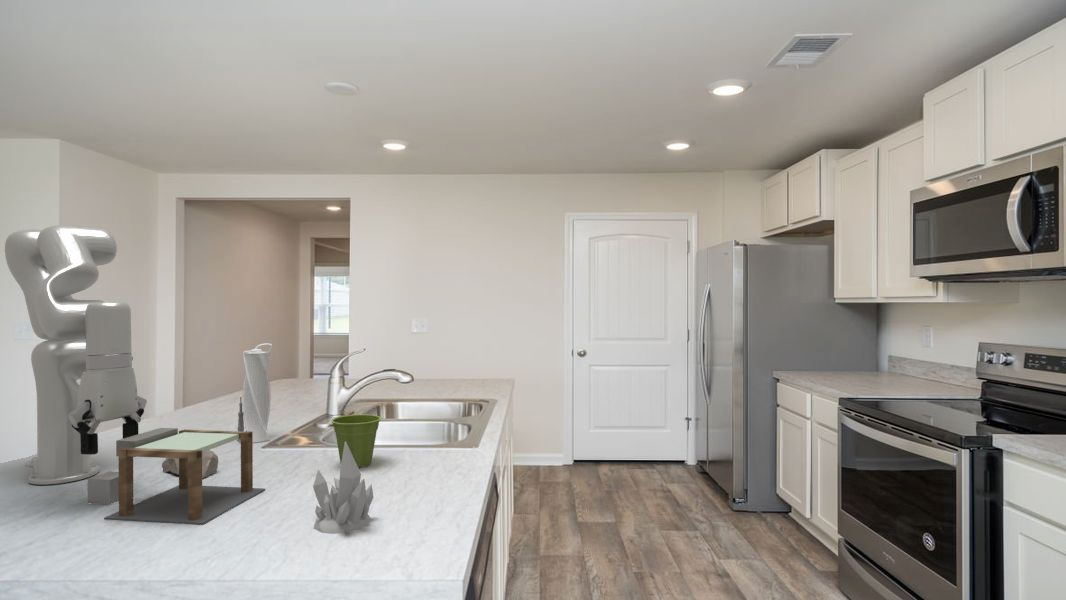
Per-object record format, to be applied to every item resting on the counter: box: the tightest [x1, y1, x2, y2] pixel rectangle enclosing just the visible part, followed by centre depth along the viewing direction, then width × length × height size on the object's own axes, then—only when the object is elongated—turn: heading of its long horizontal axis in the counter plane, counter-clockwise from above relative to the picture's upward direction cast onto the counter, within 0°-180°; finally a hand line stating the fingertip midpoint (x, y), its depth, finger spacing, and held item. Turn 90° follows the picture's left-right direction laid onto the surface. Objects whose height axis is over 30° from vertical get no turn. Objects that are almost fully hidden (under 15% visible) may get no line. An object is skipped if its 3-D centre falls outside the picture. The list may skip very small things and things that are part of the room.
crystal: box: [312, 441, 374, 535], centre depth 106 cm, size 10×13×15 cm
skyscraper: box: [236, 342, 273, 444], centre depth 166 cm, size 8×8×28 cm
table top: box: [103, 484, 266, 526], centre depth 115 cm, size 20×19×1 cm
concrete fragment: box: [161, 450, 219, 479], centre depth 136 cm, size 7×14×6 cm, turn 62°
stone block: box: [86, 470, 119, 505], centre depth 118 cm, size 5×5×5 cm
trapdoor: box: [115, 427, 239, 457], centre depth 116 cm, size 17×13×3 cm
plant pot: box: [330, 413, 382, 468], centre depth 142 cm, size 12×12×11 cm
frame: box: [117, 429, 254, 520], centre depth 115 cm, size 16×17×13 cm
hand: (110, 447), depth 117 cm, fingers open, 9 cm apart
